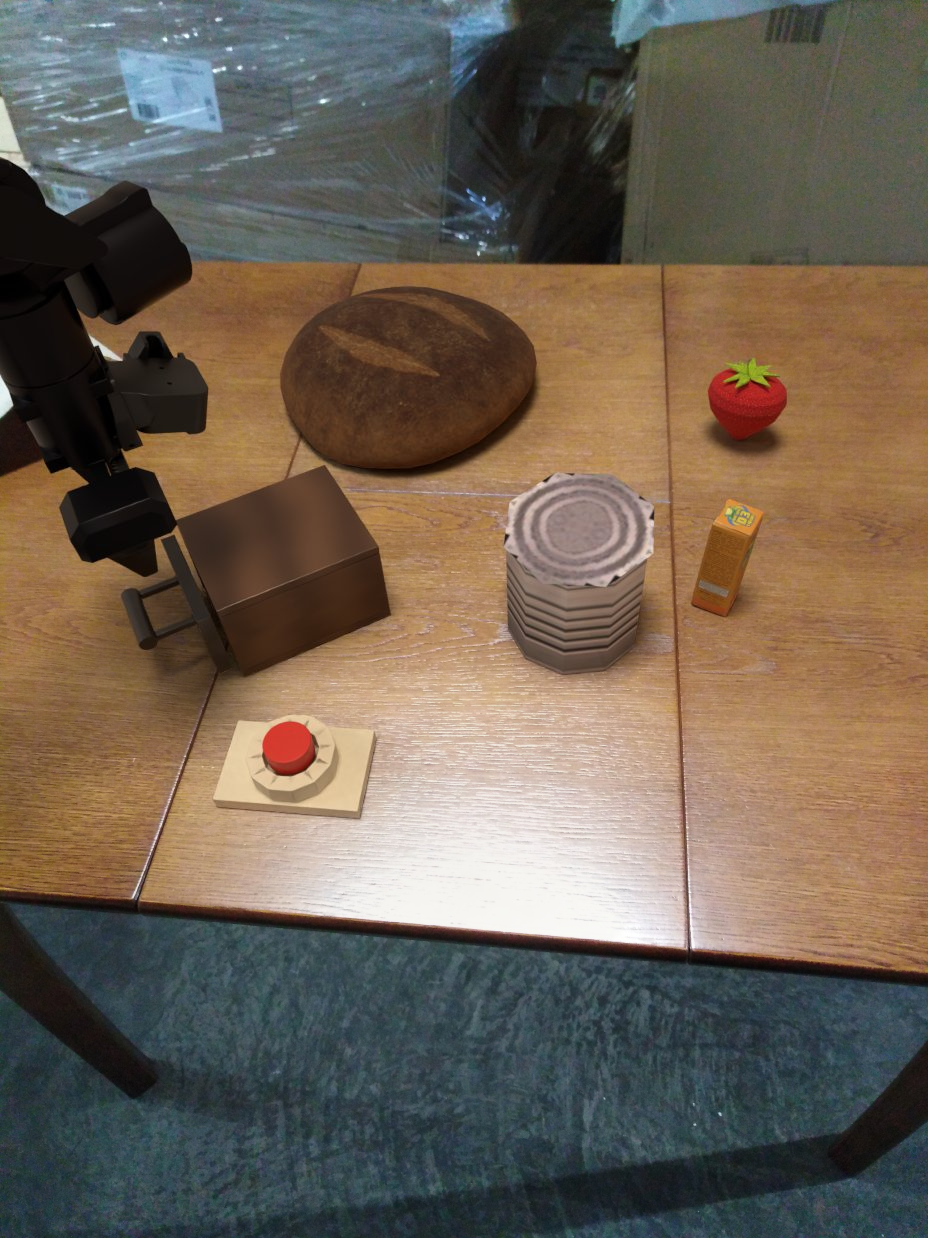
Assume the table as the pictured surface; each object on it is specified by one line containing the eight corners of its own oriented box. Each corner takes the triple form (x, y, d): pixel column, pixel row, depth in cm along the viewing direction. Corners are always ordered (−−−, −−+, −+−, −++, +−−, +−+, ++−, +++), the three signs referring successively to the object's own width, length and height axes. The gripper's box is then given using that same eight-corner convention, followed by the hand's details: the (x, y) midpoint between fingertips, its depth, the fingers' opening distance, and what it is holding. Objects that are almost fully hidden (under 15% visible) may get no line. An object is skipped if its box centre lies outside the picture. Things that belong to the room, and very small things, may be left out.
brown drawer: (163, 698, 73) (135, 646, 67) (132, 613, 79) (104, 560, 73) (357, 615, 77) (345, 562, 72) (313, 541, 83) (299, 486, 78)
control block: (216, 807, 67) (205, 787, 65) (241, 728, 71) (232, 707, 69) (359, 819, 66) (353, 799, 63) (376, 737, 70) (371, 716, 68)
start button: (261, 773, 66) (256, 761, 64) (274, 731, 68) (268, 719, 67) (309, 777, 65) (304, 764, 64) (320, 735, 68) (315, 722, 66)
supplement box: (728, 619, 76) (750, 536, 68) (689, 605, 77) (707, 521, 69) (742, 593, 78) (765, 509, 70) (704, 579, 79) (723, 495, 71)
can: (668, 624, 76) (688, 522, 67) (574, 700, 71) (581, 603, 62) (572, 554, 82) (577, 451, 72) (479, 620, 77) (473, 520, 68)
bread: (389, 297, 111) (380, 228, 104) (581, 361, 100) (585, 289, 94) (230, 421, 97) (208, 352, 90) (434, 512, 86) (426, 440, 79)
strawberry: (766, 467, 88) (789, 381, 80) (691, 447, 90) (707, 362, 82) (781, 431, 91) (805, 346, 83) (709, 413, 93) (725, 328, 86)
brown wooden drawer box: (244, 677, 75) (216, 611, 68) (203, 587, 81) (174, 519, 75) (391, 614, 78) (378, 546, 72) (340, 533, 85) (324, 464, 78)
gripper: (218, 396, 51) (279, 576, 63) (137, 254, 62) (202, 431, 74) (23, 464, 49) (126, 639, 61) (-26, 304, 59) (69, 479, 72)
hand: (136, 537), depth 67 cm, fingers open, 8 cm apart
